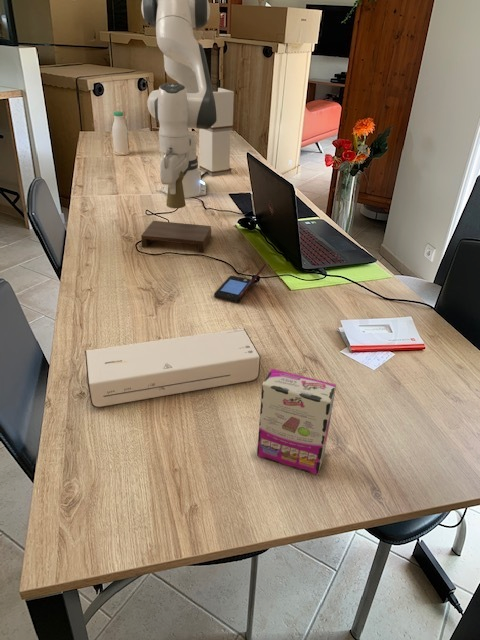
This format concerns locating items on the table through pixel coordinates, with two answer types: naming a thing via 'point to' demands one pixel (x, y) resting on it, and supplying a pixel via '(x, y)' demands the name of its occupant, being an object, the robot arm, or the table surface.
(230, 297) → the handheld console
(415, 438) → the table surface
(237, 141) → the table surface
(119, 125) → the milk bottle
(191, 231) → the desk riser
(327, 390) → the candy bar box
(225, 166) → the white square pillar
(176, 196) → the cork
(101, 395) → the laminator
